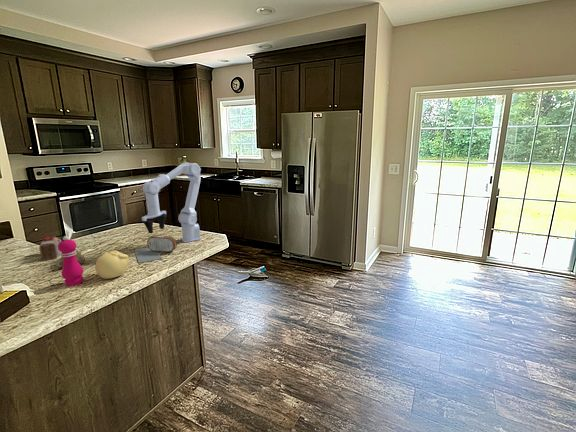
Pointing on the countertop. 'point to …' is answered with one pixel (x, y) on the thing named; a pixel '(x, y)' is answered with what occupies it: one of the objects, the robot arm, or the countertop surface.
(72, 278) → the pepper mill
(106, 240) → the countertop surface
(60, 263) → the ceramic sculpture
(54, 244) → the food item
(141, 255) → the mat
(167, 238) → the tin
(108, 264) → the sculpture
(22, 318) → the countertop surface
